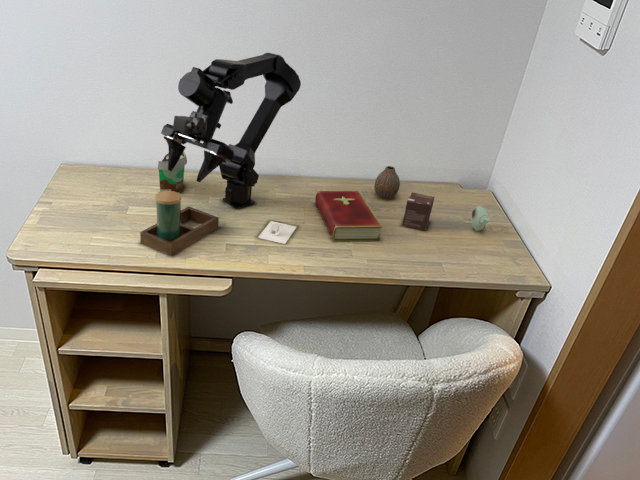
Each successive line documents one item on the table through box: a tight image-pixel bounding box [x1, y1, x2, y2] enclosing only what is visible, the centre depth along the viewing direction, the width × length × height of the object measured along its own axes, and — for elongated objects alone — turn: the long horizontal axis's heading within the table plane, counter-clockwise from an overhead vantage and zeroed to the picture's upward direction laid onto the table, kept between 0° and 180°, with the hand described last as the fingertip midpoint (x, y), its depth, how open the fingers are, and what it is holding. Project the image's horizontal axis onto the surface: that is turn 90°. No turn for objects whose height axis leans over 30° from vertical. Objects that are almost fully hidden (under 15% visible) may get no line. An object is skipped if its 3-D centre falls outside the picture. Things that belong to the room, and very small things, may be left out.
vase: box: [373, 165, 401, 201], centre depth 172 cm, size 7×7×9 cm
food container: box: [157, 151, 188, 194], centre depth 169 cm, size 12×6×10 cm, turn 168°
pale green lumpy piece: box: [470, 205, 491, 232], centre depth 158 cm, size 8×4×7 cm, turn 175°
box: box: [402, 192, 435, 231], centre depth 159 cm, size 6×6×7 cm
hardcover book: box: [314, 190, 383, 242], centre depth 159 cm, size 12×21×4 cm, turn 6°
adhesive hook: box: [268, 221, 282, 236], centre depth 152 cm, size 3×3×3 cm
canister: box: [155, 191, 182, 242], centre depth 143 cm, size 6×6×12 cm
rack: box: [139, 206, 220, 257], centre depth 149 cm, size 18×10×3 cm, turn 145°
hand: (183, 176), depth 145 cm, fingers open, 9 cm apart
